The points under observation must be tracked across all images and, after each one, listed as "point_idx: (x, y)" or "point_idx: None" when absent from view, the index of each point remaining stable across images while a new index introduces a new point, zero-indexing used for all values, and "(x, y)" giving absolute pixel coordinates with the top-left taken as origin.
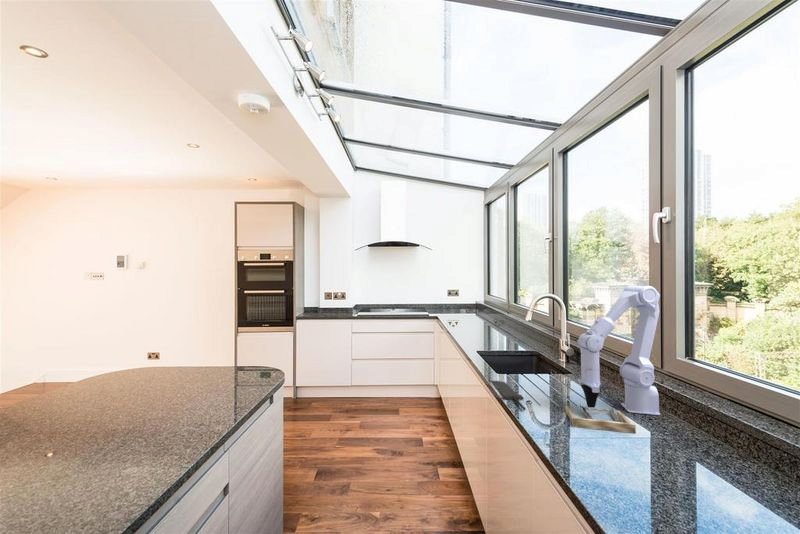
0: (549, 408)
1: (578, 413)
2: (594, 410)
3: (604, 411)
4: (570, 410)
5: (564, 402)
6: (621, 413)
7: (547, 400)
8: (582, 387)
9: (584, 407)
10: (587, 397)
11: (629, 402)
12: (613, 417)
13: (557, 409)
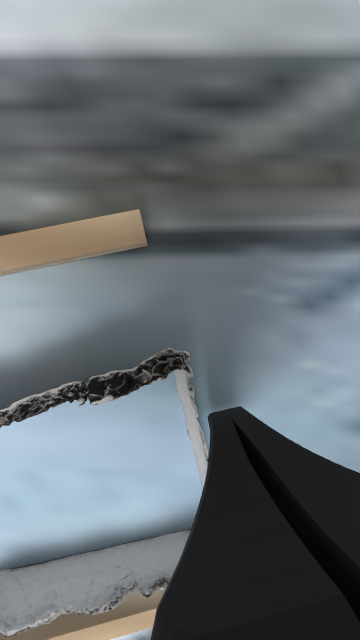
0: (105, 50)
1: (111, 327)
2: (199, 444)
3: None
4: (11, 264)
5: (344, 205)
6: None
7: (346, 25)
8: (280, 629)
9: (187, 384)
10: (205, 491)
11: None
12: (140, 545)
13: (118, 140)
